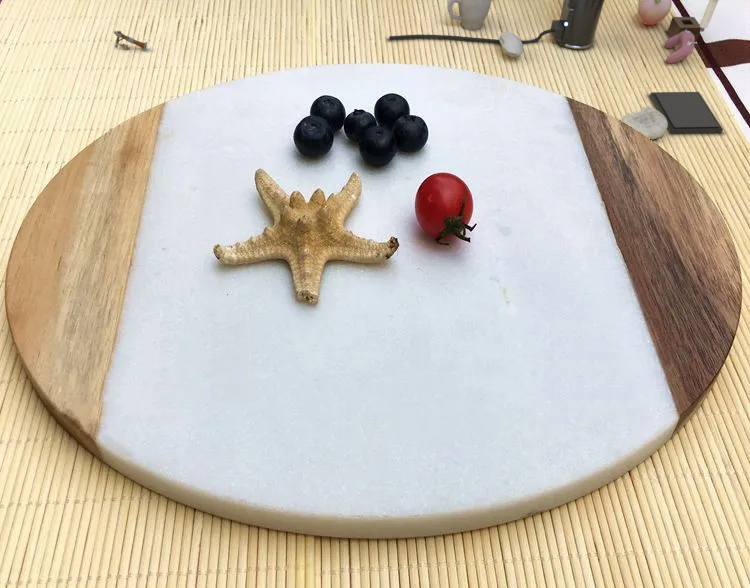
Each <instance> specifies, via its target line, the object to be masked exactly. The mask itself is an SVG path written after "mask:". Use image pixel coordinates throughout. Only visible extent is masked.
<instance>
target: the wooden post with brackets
mask: <svg viewBox="0 0 750 588" xmlns="http://www.w3.org/2000/svg"><path fill="white" fill-rule="evenodd" d="M113 34H114V35H115V36H116V40H115V43H114V48H116V49H117V48H118V47H119V46H120V48H121V49H124V50H126V51H128V50H131V49H130V46H129V45H128V44H125V43H124V42H123V43H120V42H121V41H122V40H125V41H126V42H127V43H130V44H132V45H136V46H137V47H139V48H141V49H142V51H143V52H146V50H147V46H148V41H145V42H142V41H139V40H136V39H135V38H133V37H131V36H129V35H126V34H124V33H123V32H122V31H121V30H114V31H113Z"/></svg>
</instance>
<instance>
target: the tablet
mask: <svg viewBox="0 0 750 588" xmlns="http://www.w3.org/2000/svg"><path fill="white" fill-rule="evenodd" d="M649 98H650V100H651V101H652V103H653V105H654V106H655V109H656V110H658V111H659V112H660V113H662V114H663V115H664V116H665V118H666V120H667V123H668V126H667V131H668V132H669V133H670V134H671V135H684V134H685V135H686V134H687V135H688V134H689V135H690V134H691V135H692V134H722V132H723V130H724V128H723V127H722V126H721V124H720V122H719V121H718V119H717V118H716V116H715V115H714V113H713V112H712V110H711V109H710V107H709V105H708V104H707V102H706V101H705V99H704V97H703V96H702V95H701V93H700V92H699V91H663V92H662V91H658V92H657V91H656V92H655V91H654V92H653V91H651V92H650V94H649Z"/></svg>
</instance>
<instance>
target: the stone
mask: <svg viewBox="0 0 750 588" xmlns="http://www.w3.org/2000/svg"><path fill="white" fill-rule="evenodd" d="M498 40H500V43H499V44H500V45H501V46H502V49H503V51H504V53H505V54H506V55H507V56H508V57H510V58H518V57H521V55H522V54H523V49H524V44H522V42H521V41H522V40H521V38H520V37H519V36H518V35H517V34H515V33H513V32H510V31H504V32H502V33H501V34H500V35H499V38H498Z"/></svg>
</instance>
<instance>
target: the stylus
mask: <svg viewBox="0 0 750 588" xmlns="http://www.w3.org/2000/svg"><path fill="white" fill-rule="evenodd" d="M718 3H719V0H709V1H708V3H707V5H706V8H705V10H704V13H703V16H702V18H701V20H700V23H699V24H700V27H701V29H700V33H701V32H702V33H703V32H705V30H706V29H708V28H709V25H710V23H711V20H712V18H713V15H714V12H715V10H716V8H717V5H718Z"/></svg>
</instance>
